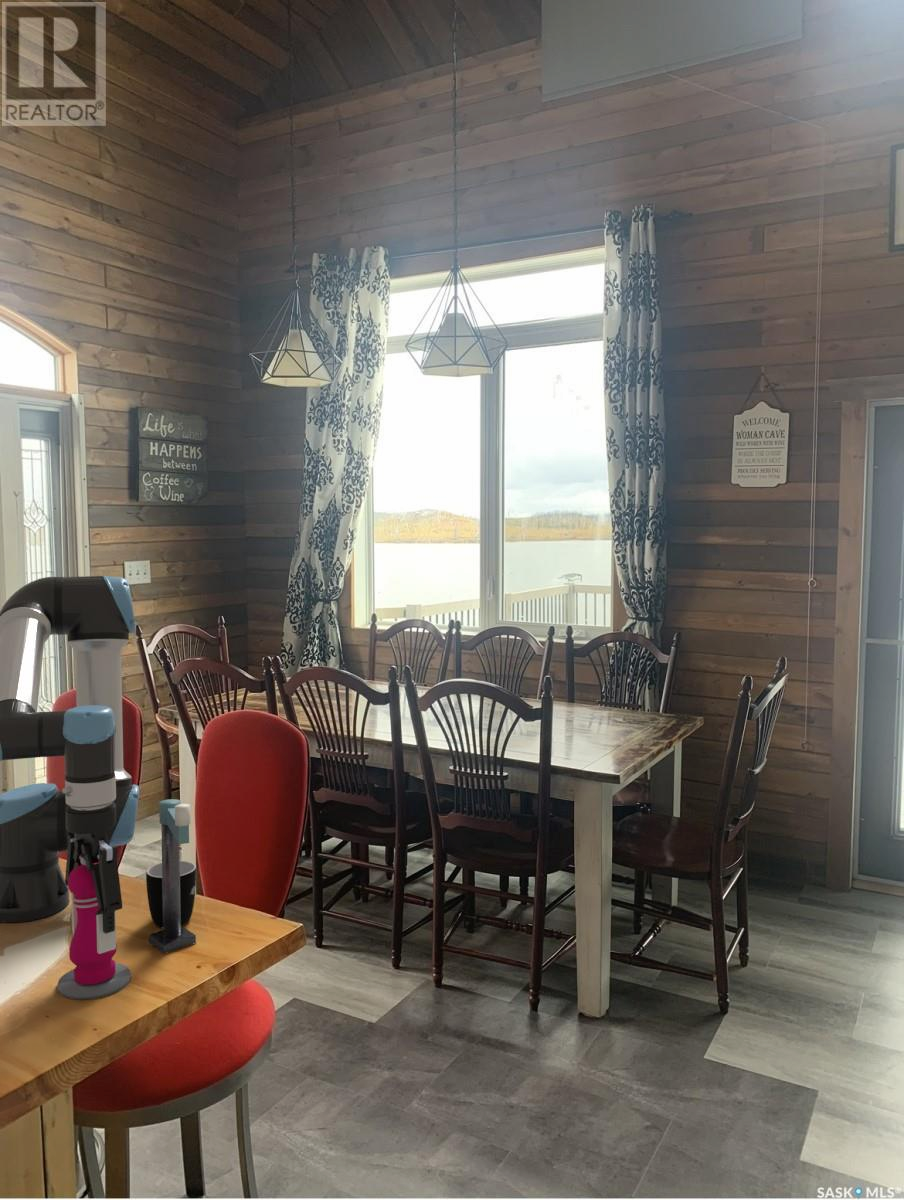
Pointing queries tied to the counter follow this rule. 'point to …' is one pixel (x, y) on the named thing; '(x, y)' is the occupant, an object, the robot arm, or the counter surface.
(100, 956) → the pepper mill
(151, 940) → the post
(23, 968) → the counter surface
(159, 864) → the mug
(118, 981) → the slate coaster
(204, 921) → the counter surface
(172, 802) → the pegged blue crossbar
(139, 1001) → the counter surface
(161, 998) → the counter surface
